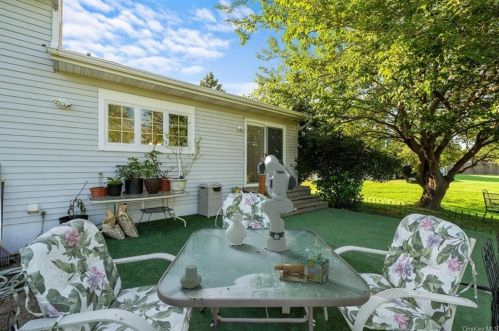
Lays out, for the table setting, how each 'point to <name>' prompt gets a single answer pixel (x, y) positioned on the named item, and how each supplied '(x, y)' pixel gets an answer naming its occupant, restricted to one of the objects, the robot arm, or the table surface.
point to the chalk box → (318, 268)
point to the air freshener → (190, 277)
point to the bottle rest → (293, 276)
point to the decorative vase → (236, 230)
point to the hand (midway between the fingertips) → (278, 217)
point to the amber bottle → (290, 268)
